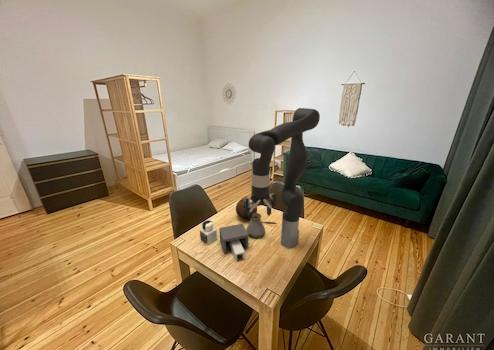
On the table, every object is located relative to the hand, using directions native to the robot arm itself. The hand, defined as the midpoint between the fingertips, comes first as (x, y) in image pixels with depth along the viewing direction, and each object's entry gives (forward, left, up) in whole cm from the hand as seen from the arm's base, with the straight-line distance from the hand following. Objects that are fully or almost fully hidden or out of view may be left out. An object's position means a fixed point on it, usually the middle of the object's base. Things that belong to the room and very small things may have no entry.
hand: (259, 216), depth 91 cm
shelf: (+7, -21, -30) cm, 37 cm away
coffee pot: (-11, -22, -30) cm, 39 cm away
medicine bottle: (+20, -30, -30) cm, 47 cm away
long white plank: (+7, -16, -30) cm, 35 cm away
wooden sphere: (-9, -45, -30) cm, 55 cm away
